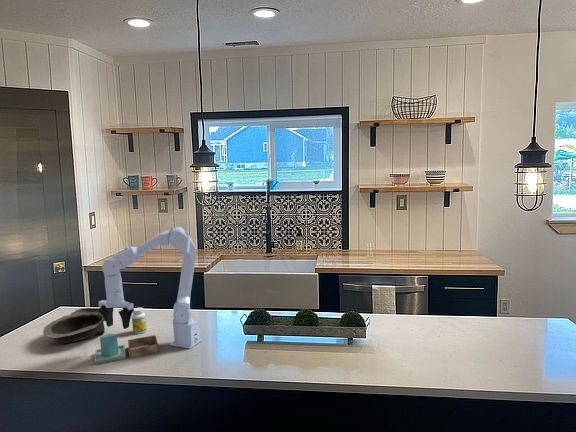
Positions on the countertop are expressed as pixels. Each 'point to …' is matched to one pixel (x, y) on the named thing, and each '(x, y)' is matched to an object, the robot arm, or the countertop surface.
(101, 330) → the stone bowl
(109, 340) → the block
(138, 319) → the supplement bottle
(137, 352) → the sleeve
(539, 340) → the countertop surface
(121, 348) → the tray
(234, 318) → the countertop surface
